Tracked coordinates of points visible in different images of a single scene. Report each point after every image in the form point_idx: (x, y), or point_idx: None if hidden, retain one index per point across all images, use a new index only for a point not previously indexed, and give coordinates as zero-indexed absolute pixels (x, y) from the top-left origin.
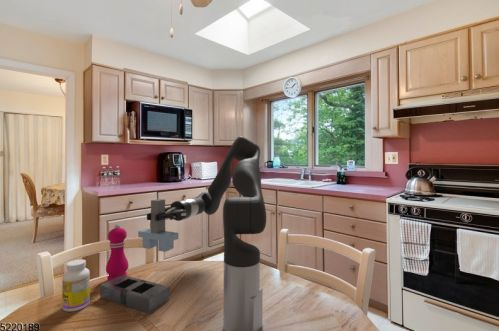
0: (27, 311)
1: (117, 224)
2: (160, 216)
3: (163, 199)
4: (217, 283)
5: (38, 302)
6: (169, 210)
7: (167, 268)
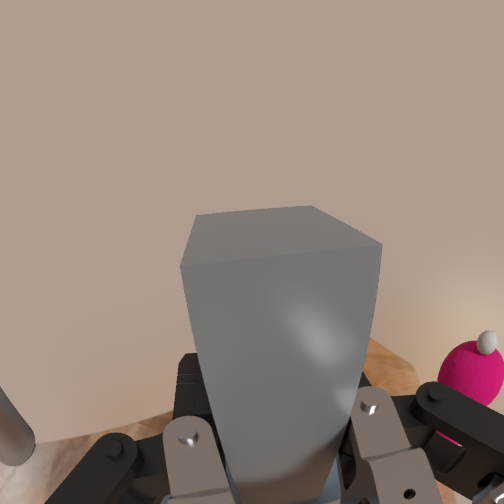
0: (370, 345)
1: (484, 334)
2: (180, 368)
3: (221, 257)
4: None
5: (393, 355)
6: (191, 494)
7: None
